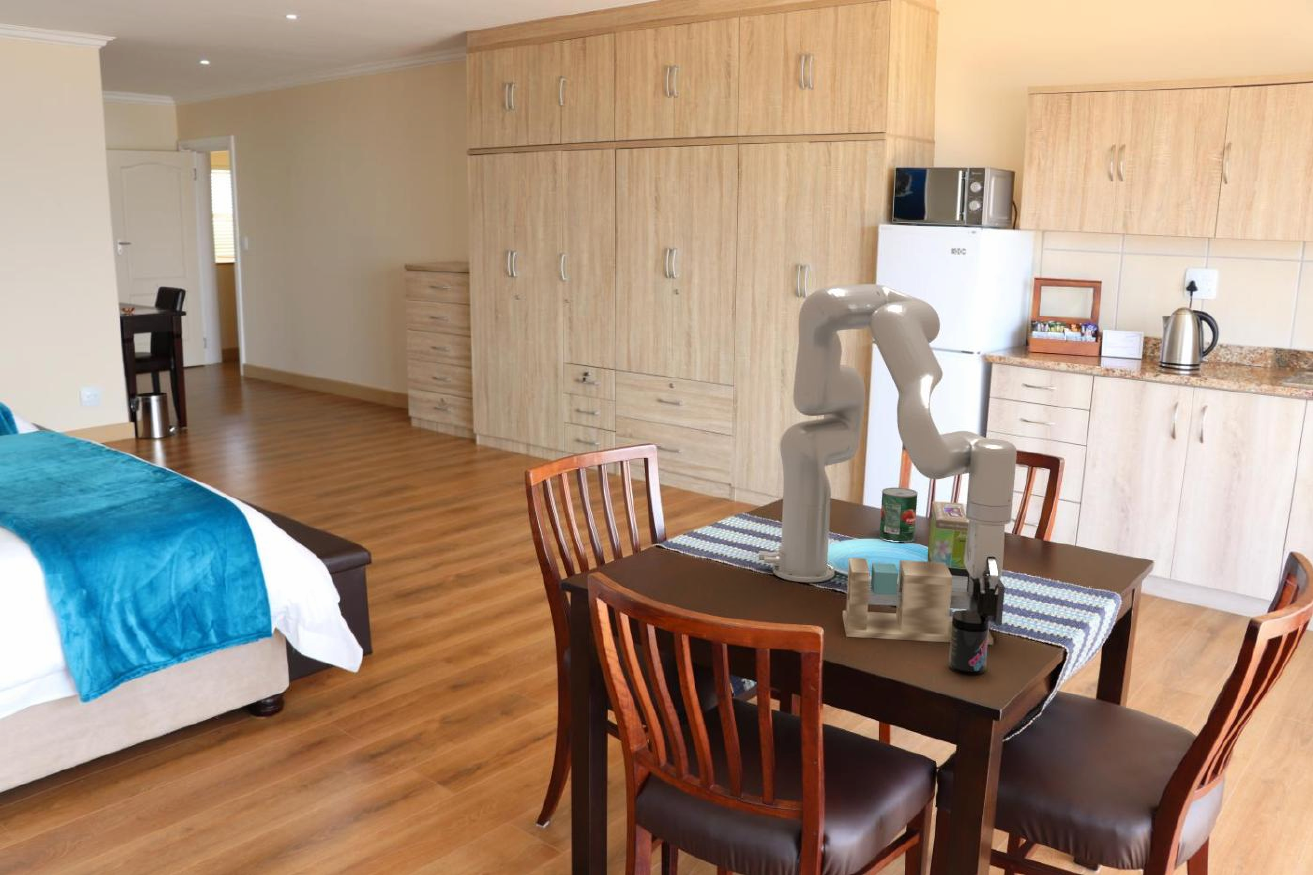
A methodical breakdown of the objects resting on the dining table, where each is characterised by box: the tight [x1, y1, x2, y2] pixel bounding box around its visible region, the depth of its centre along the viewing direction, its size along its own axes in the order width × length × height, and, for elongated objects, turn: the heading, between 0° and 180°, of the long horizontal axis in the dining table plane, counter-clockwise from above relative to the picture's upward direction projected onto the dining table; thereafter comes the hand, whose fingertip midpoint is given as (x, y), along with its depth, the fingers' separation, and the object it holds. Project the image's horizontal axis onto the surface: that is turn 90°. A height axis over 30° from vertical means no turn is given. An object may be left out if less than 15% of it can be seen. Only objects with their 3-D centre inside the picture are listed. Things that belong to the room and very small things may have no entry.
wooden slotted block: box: [842, 557, 994, 646], centre depth 190 cm, size 25×10×12 cm, turn 84°
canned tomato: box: [878, 486, 918, 544], centre depth 245 cm, size 8×8×11 cm
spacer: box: [870, 562, 899, 595], centre depth 190 cm, size 4×5×4 cm
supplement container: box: [948, 609, 991, 676], centre depth 174 cm, size 6×6×9 cm
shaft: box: [868, 575, 1006, 626], centre depth 190 cm, size 26×7×7 cm, turn 84°
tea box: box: [926, 501, 969, 592], centre depth 216 cm, size 15×10×15 cm, turn 168°
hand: (980, 604), depth 189 cm, fingers open, 9 cm apart
